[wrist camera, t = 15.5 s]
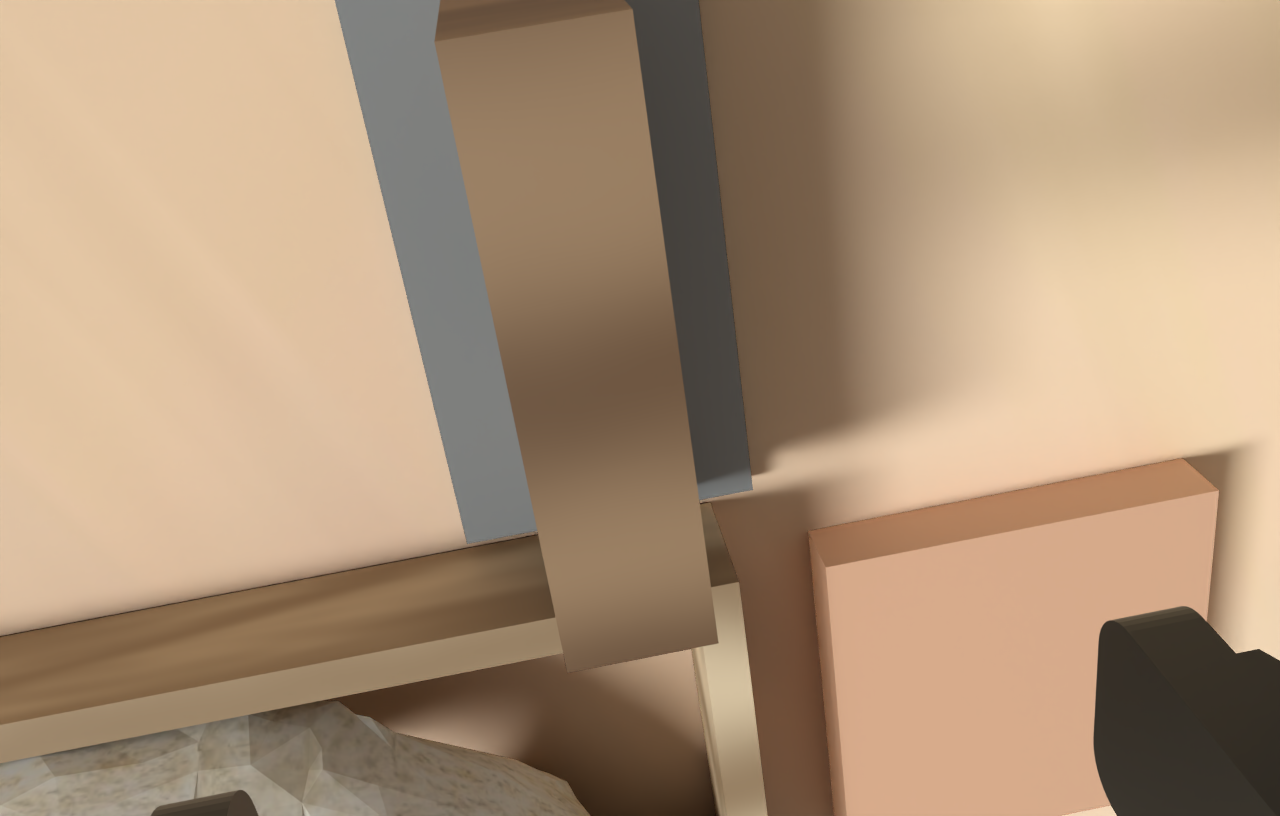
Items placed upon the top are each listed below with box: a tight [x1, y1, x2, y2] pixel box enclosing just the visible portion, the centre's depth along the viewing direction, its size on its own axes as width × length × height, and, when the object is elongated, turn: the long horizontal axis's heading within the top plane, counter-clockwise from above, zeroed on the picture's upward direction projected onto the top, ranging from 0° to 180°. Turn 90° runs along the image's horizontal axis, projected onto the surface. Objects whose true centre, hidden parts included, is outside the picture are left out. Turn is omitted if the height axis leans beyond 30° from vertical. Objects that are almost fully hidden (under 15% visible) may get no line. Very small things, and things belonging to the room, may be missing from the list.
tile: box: [808, 458, 1219, 816], centre depth 32 cm, size 2×10×10 cm
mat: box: [335, 0, 753, 544], centre depth 26 cm, size 14×7×1 cm, turn 8°
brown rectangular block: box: [434, 0, 719, 673], centre depth 23 cm, size 12×3×6 cm, turn 8°
